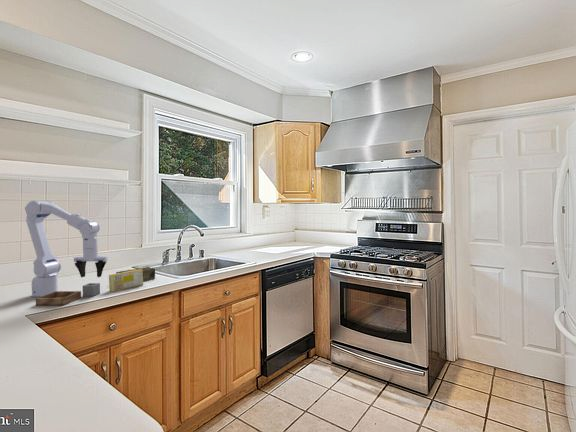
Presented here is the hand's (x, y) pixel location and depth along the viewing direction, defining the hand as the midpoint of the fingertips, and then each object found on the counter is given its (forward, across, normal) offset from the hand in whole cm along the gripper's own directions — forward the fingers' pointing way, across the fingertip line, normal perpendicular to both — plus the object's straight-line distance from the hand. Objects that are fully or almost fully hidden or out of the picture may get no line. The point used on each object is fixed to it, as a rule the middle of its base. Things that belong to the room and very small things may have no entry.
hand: (91, 276), depth 151 cm
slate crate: (+9, 0, 0) cm, 9 cm away
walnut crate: (+9, +8, +10) cm, 15 cm away
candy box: (+9, -10, -13) cm, 19 cm away
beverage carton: (+9, -8, -28) cm, 31 cm away
